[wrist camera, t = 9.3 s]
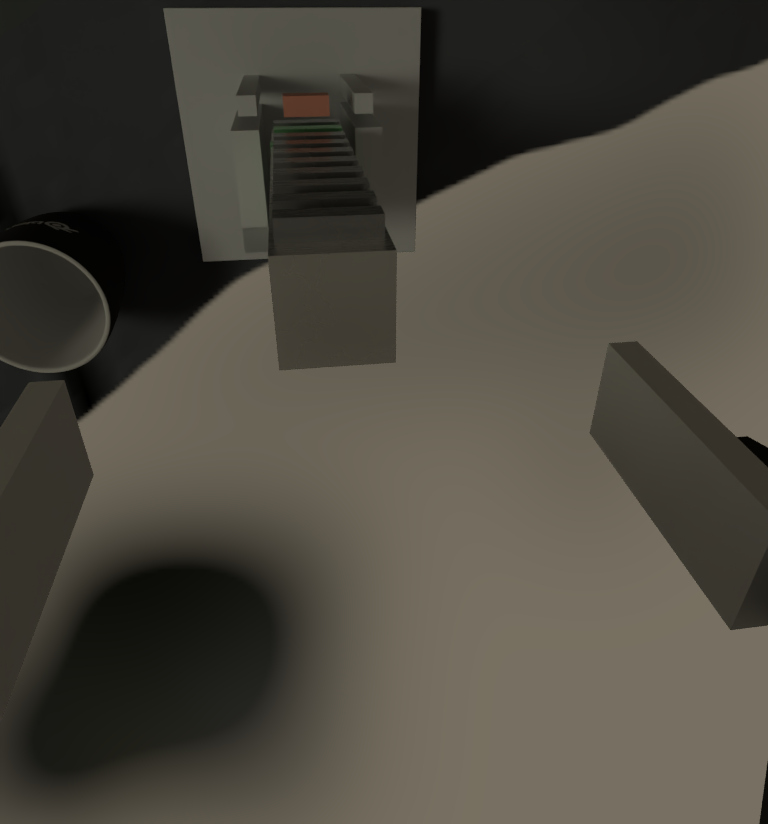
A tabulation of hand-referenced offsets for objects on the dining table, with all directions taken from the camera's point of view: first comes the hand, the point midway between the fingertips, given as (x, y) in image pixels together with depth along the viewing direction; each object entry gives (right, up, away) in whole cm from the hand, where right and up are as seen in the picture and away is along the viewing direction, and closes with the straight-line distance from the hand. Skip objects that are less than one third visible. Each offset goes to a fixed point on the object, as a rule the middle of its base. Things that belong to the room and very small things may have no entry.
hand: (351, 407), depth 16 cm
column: (-4, +15, +23) cm, 28 cm away
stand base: (-5, +20, +30) cm, 36 cm away
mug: (-24, +11, +33) cm, 42 cm away
